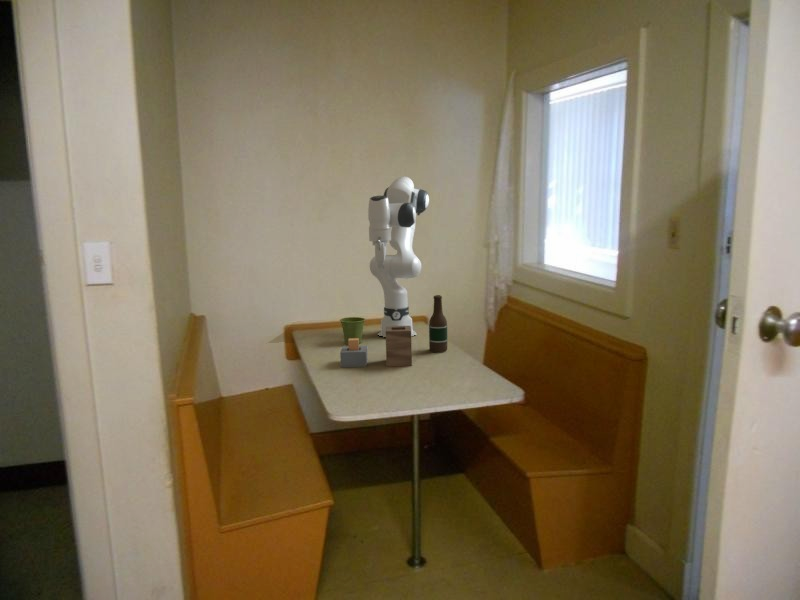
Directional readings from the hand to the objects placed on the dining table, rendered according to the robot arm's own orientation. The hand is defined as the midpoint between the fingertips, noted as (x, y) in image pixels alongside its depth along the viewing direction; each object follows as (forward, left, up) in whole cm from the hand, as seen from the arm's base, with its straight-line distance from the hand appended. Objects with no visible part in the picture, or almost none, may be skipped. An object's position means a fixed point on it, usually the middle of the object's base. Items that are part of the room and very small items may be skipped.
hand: (381, 270), depth 244 cm
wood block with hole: (+10, +6, -36) cm, 38 cm away
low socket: (+10, -12, -36) cm, 39 cm away
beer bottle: (-8, +23, -37) cm, 44 cm away
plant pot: (-25, -15, -37) cm, 47 cm away
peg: (+10, -12, -34) cm, 37 cm away
